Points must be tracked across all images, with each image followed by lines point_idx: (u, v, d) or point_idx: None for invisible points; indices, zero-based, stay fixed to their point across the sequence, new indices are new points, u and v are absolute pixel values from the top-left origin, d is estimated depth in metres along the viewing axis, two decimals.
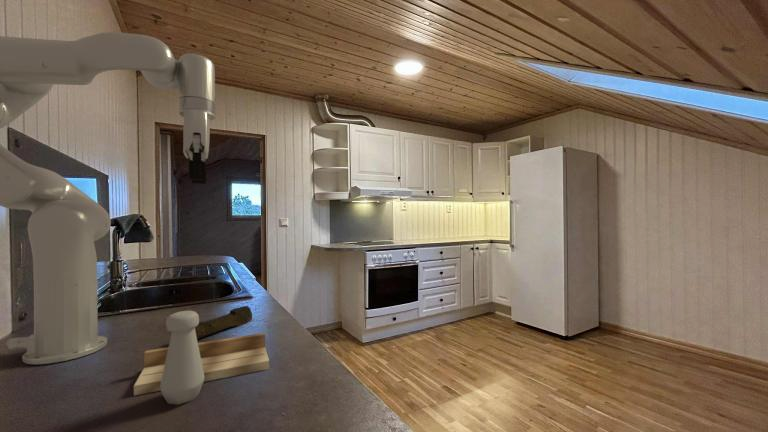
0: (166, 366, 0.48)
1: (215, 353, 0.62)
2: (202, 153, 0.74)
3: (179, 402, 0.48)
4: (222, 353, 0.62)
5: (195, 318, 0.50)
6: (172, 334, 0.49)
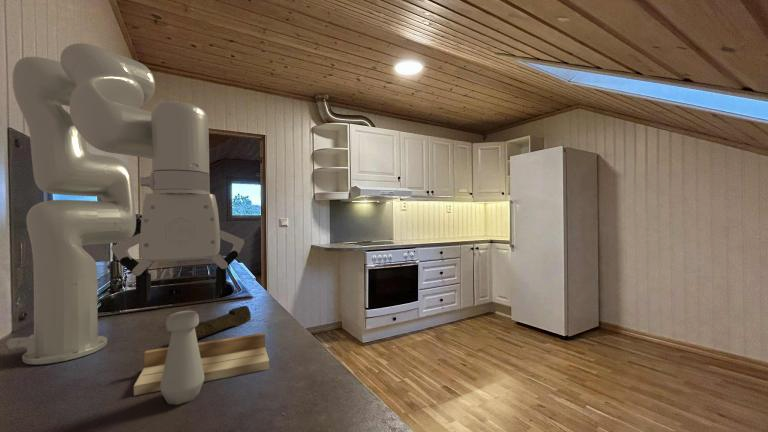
0: (166, 366, 0.48)
1: (215, 353, 0.62)
2: (222, 256, 0.53)
3: (179, 402, 0.48)
4: (222, 353, 0.62)
5: (195, 318, 0.50)
6: (172, 334, 0.49)
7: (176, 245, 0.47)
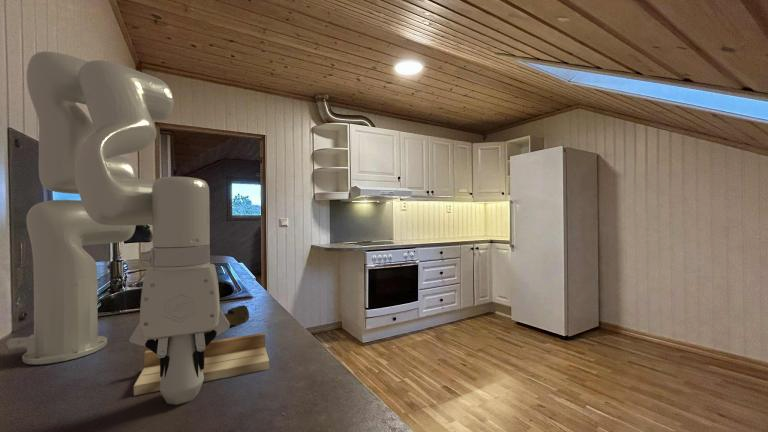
0: None
1: (215, 353, 0.62)
2: (205, 334, 0.52)
3: (178, 402, 0.48)
4: (222, 353, 0.62)
5: None
6: None
7: (175, 321, 0.47)
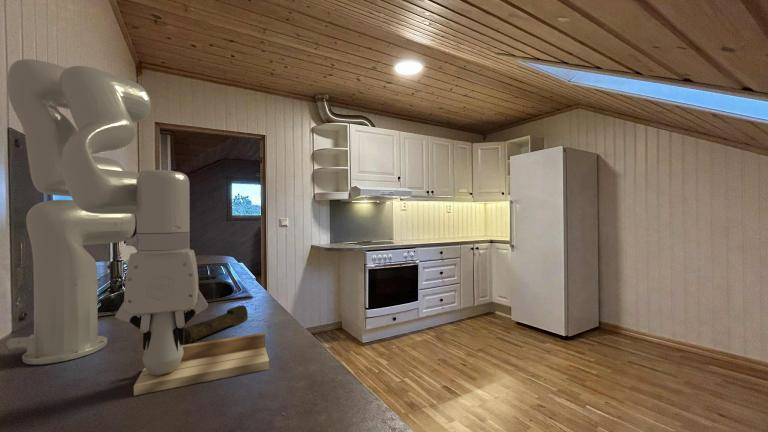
0: None
1: (215, 353, 0.62)
2: None
3: (159, 373, 0.53)
4: (222, 353, 0.62)
5: None
6: None
7: (157, 300, 0.53)
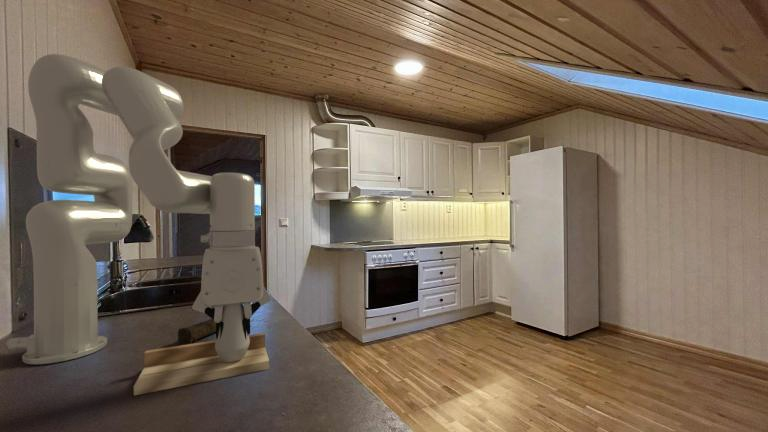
0: None
1: (215, 353, 0.62)
2: (250, 305, 0.62)
3: (231, 360, 0.58)
4: None
5: None
6: None
7: (229, 292, 0.57)
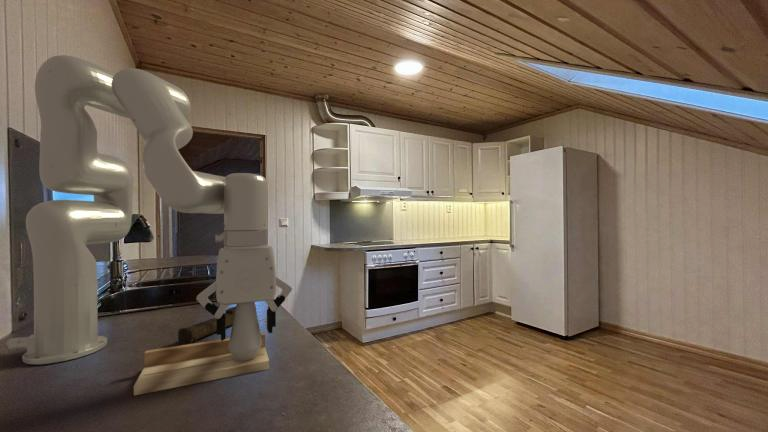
0: (233, 330, 0.59)
1: (215, 353, 0.62)
2: (272, 299, 0.64)
3: (244, 359, 0.59)
4: (222, 353, 0.62)
5: None
6: (238, 304, 0.60)
7: (244, 291, 0.58)
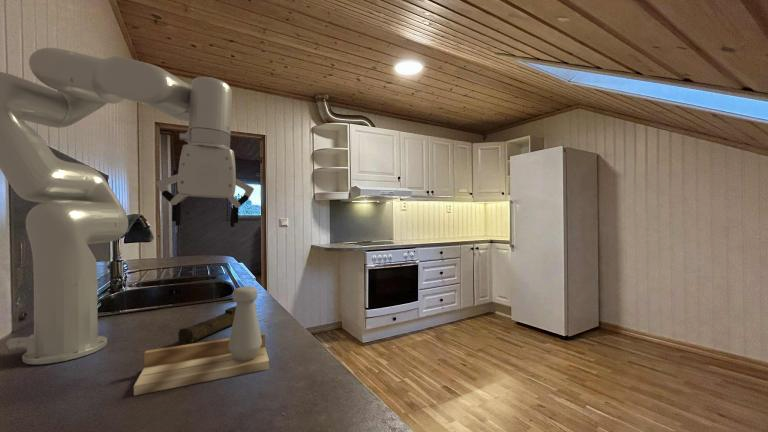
0: (233, 330, 0.59)
1: (215, 353, 0.62)
2: None
3: (244, 359, 0.59)
4: (222, 353, 0.62)
5: (255, 292, 0.61)
6: (238, 304, 0.60)
7: (203, 184, 0.63)
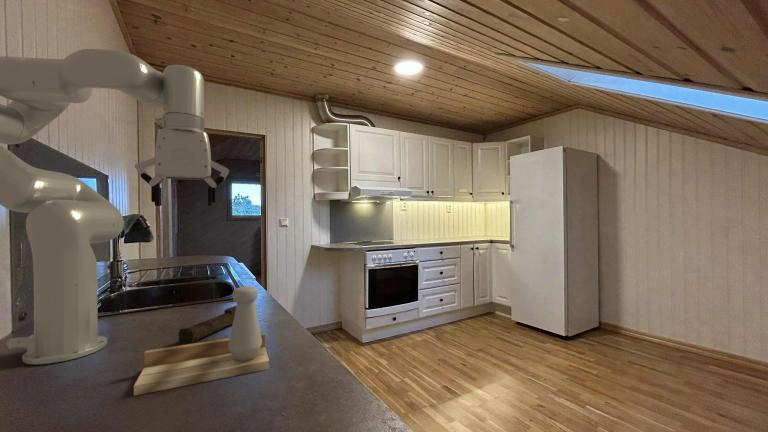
0: (233, 330, 0.59)
1: (215, 353, 0.62)
2: None
3: (244, 359, 0.59)
4: (222, 353, 0.62)
5: (255, 292, 0.61)
6: (238, 304, 0.60)
7: (179, 166, 0.68)
